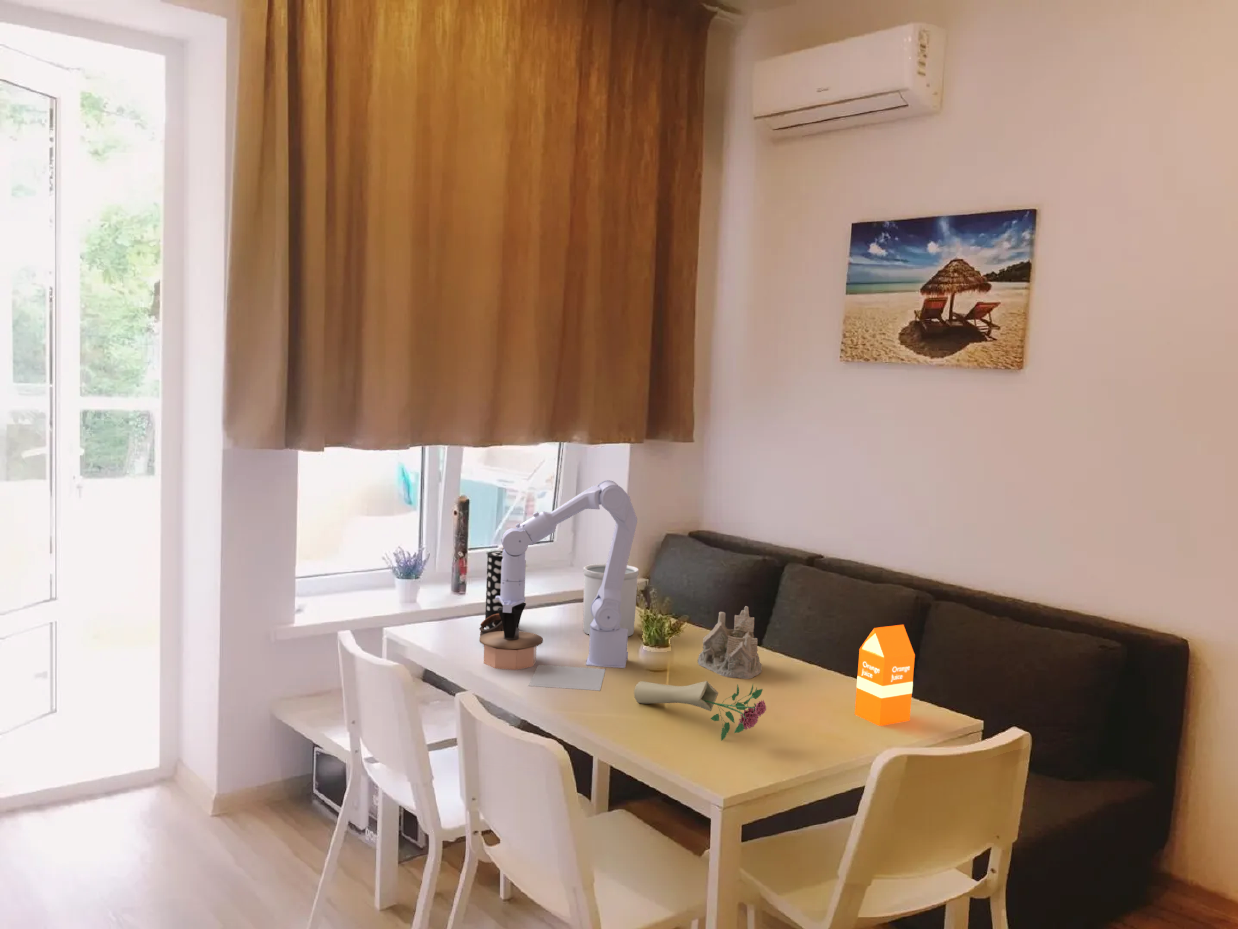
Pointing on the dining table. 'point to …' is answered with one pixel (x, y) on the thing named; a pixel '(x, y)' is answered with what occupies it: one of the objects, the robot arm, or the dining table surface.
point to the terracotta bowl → (509, 657)
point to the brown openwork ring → (497, 624)
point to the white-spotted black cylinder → (493, 584)
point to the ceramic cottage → (732, 648)
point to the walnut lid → (511, 640)
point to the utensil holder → (628, 595)
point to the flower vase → (701, 701)
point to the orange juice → (885, 676)
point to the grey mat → (568, 677)
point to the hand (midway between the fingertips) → (511, 635)
